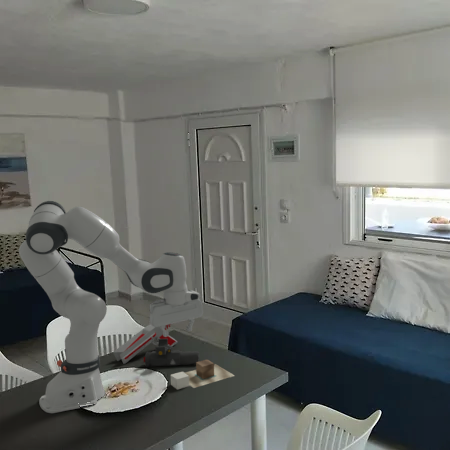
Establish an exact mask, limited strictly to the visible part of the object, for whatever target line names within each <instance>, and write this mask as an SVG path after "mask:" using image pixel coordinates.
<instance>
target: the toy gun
mask: <svg viewBox="0 0 450 450" xmlns="http://www.w3.org/2000/svg"><path fill="white" fill-rule="evenodd" d="M165 327H166V328H164V329H165V330H168V329H169V328H171V324H168V325H165ZM156 339H157V340H156ZM159 339H168V347H172V348H173V346H175V345H177V343H178V342H179V341H178V340H176V339H175V338H174V337H172V336H171V335H169V336H167V337H164V336H163V331H162V330H161V328H160V326H159V327H153V326H152V325H151V324H150V323H149V324H148V325H146V326H145V327H144V328H143V329H141V330H140V331H138V332H137V333H136V334H135V335H134V336H132V337H130V338H129V339H128V340H127V341H126V342H124V343H123V344H121V345H120V346H119V347H118V348H116V349H115V350H113V355H114V357H115V359H116V361H117V362H119V361H120V360H121V361H122V363H123V365H125V364H126V363H128V362H129V361H130V360H132V359H133V358H134V357H135V356H137V355H138V354H139V353H140V352H142V351H143V349H144V350H145V348H146V347H148V346H149V345H150V344H152V345H154V346H158V344H159Z"/></svg>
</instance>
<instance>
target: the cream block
mask: <svg viewBox="0 0 450 450" xmlns="http://www.w3.org/2000/svg"><path fill="white" fill-rule="evenodd" d="M185 373H186V372H184V371H178V372H176V373H172V374H170V385H171V386H172V387H173V388H174V389H176V390H180V389H184V388H188V387H190V385H189V376H188V375H187V374H185Z"/></svg>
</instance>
